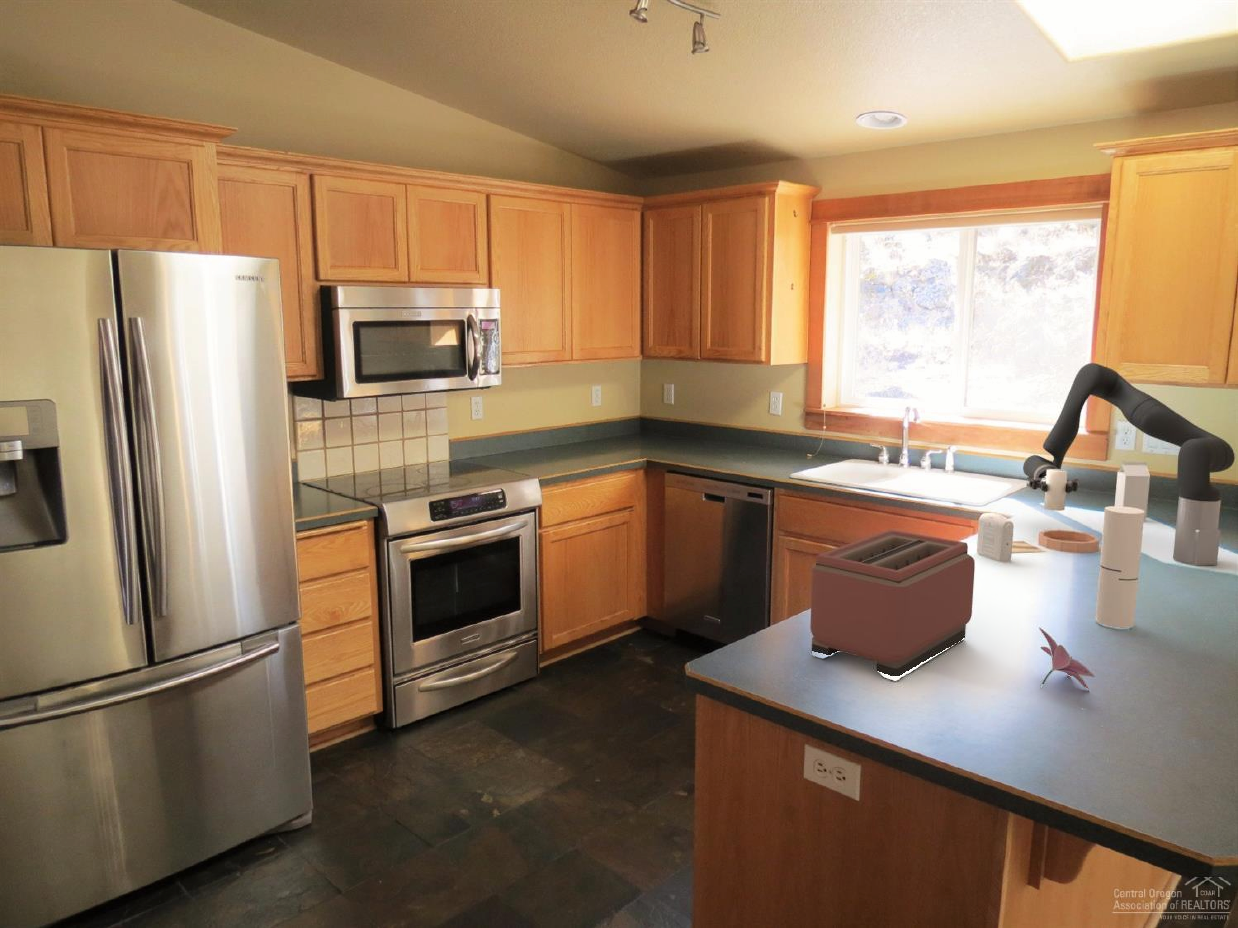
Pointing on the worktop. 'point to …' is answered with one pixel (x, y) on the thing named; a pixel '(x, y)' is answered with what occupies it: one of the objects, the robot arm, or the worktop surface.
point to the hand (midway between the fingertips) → (1057, 488)
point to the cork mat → (1024, 547)
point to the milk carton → (1133, 486)
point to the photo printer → (995, 537)
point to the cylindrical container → (1119, 566)
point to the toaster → (892, 598)
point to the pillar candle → (1055, 489)
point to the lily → (1064, 661)
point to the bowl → (1068, 541)
